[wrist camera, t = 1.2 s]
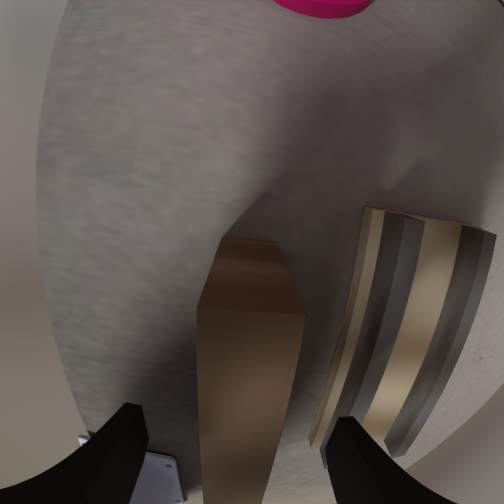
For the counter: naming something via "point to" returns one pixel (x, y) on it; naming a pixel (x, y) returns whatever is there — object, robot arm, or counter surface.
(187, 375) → the counter surface
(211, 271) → the door panel
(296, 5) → the pepper mill
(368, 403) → the track board
